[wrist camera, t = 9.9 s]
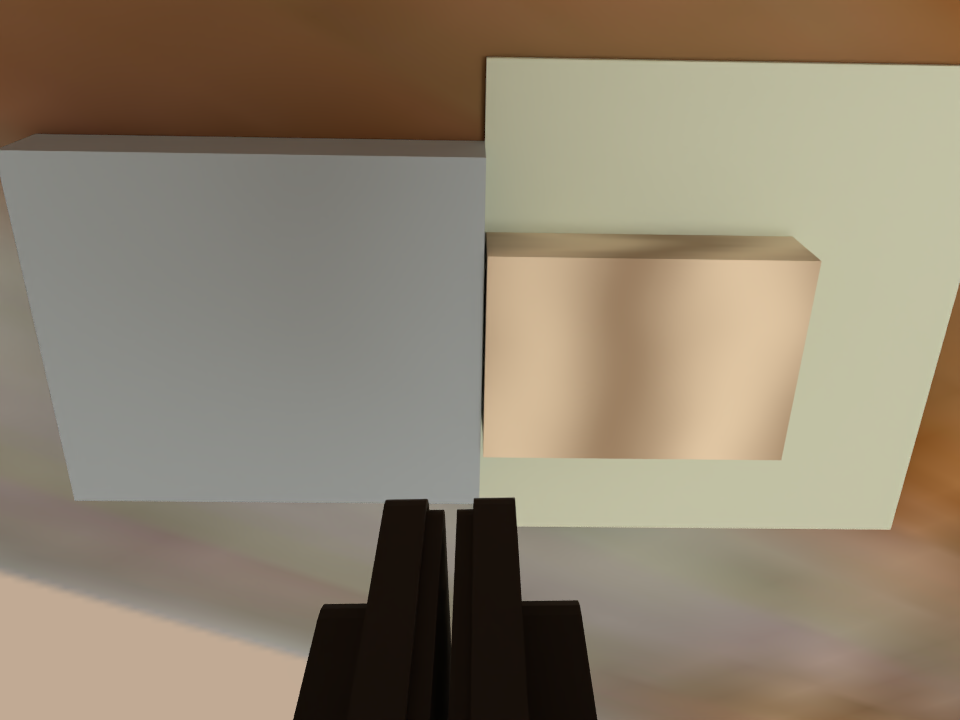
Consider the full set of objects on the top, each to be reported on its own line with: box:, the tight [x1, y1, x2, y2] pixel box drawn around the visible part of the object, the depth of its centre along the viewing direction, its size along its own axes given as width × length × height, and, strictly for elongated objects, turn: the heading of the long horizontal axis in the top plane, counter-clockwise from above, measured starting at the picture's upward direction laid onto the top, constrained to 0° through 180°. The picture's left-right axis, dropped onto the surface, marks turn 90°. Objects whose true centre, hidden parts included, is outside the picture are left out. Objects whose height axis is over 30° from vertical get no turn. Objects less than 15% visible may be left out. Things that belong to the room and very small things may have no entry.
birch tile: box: [482, 232, 822, 460], centre depth 28 cm, size 10×7×2 cm
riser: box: [0, 134, 486, 504], centre depth 28 cm, size 14×12×2 cm
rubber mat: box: [479, 57, 960, 529], centre depth 29 cm, size 16×17×1 cm
